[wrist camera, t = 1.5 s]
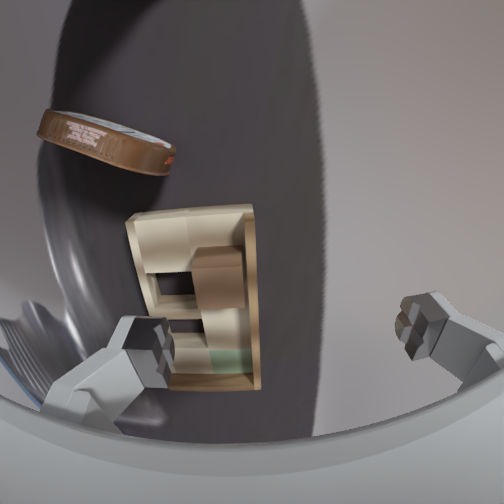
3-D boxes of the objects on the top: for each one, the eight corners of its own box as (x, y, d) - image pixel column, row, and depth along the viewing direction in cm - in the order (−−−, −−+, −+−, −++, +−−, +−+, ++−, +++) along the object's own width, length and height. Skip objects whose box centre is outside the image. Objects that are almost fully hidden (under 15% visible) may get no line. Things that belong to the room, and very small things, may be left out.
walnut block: (197, 247, 27) (191, 269, 23) (241, 244, 27) (242, 266, 23) (203, 284, 29) (198, 309, 25) (244, 282, 29) (244, 307, 25)
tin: (65, 130, 23) (19, 138, 16) (73, 105, 22) (27, 105, 14) (176, 171, 27) (152, 189, 19) (188, 143, 25) (167, 150, 18)
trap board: (134, 213, 28) (115, 231, 23) (251, 203, 28) (254, 221, 23) (174, 362, 39) (169, 390, 34) (258, 361, 39) (260, 389, 34)
